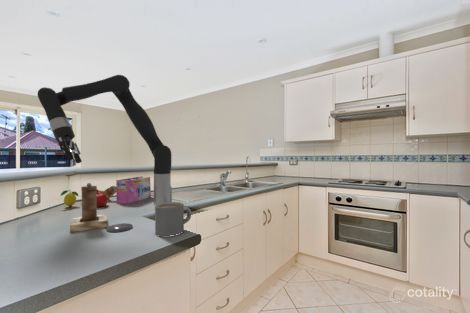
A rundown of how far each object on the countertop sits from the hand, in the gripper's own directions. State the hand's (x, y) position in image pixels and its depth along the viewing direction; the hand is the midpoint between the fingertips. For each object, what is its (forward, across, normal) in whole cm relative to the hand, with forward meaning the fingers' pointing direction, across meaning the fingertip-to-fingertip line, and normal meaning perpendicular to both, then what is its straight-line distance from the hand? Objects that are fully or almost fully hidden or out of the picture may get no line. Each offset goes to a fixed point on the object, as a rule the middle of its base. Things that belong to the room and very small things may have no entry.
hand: (75, 161), depth 109 cm
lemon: (+14, +28, +19) cm, 36 cm away
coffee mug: (+46, -27, -29) cm, 61 cm away
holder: (+30, -12, +1) cm, 32 cm away
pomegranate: (+20, +26, +6) cm, 33 cm away
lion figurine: (+17, +41, +6) cm, 45 cm away
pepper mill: (+30, -12, +1) cm, 32 cm away
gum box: (+24, +39, -10) cm, 47 cm away
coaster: (+36, -18, -11) cm, 42 cm away
